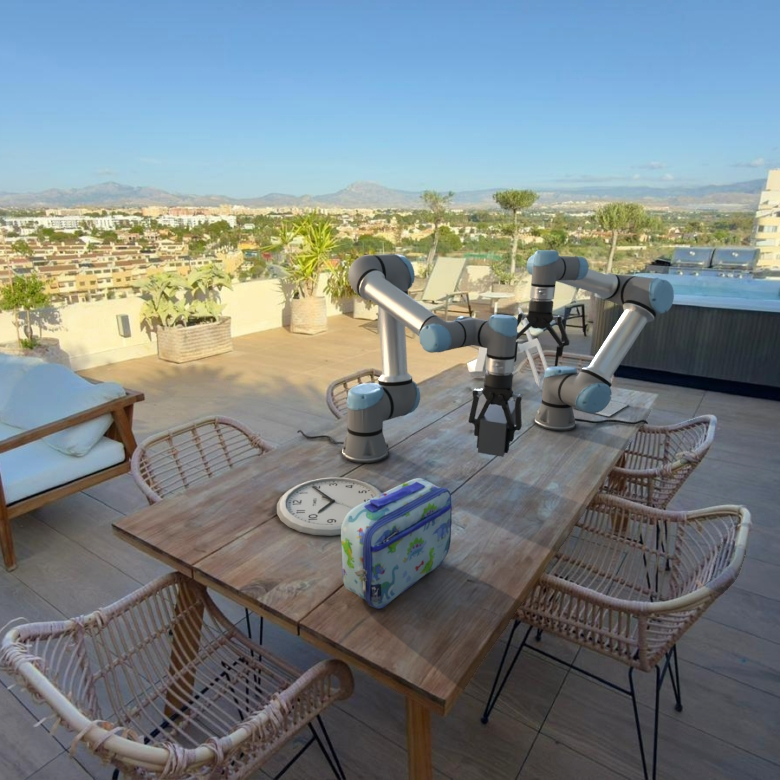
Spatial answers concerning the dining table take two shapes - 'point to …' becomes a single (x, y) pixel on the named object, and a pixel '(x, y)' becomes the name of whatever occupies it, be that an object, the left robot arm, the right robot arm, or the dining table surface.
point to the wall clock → (323, 504)
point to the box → (494, 430)
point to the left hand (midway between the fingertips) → (492, 448)
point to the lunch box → (395, 540)
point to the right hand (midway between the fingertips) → (535, 363)
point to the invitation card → (611, 408)
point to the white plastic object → (523, 350)
